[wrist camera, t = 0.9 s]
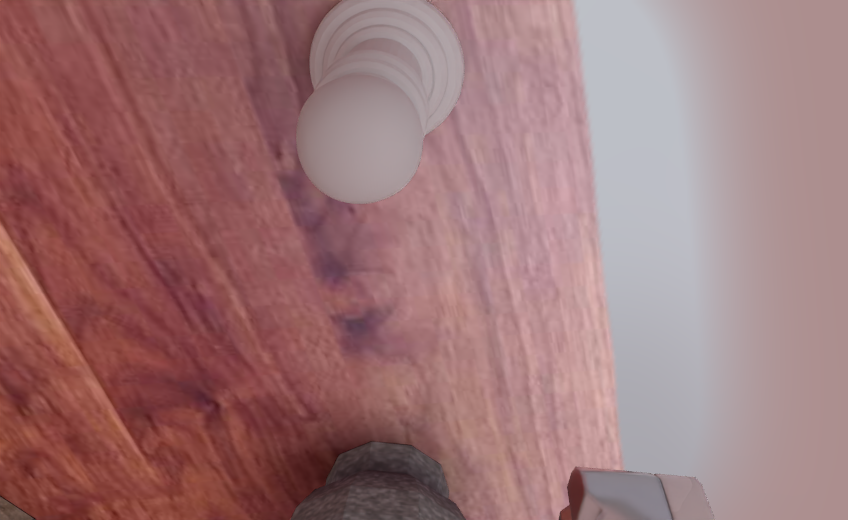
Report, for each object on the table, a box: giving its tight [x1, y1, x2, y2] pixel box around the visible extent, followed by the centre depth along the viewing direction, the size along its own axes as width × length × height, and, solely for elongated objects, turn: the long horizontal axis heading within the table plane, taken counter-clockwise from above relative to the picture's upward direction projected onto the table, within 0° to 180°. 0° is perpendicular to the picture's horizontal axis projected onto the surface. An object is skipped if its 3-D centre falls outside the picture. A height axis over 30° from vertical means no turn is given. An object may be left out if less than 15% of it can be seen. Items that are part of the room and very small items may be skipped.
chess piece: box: [296, 0, 464, 204], centre depth 21 cm, size 5×5×9 cm
